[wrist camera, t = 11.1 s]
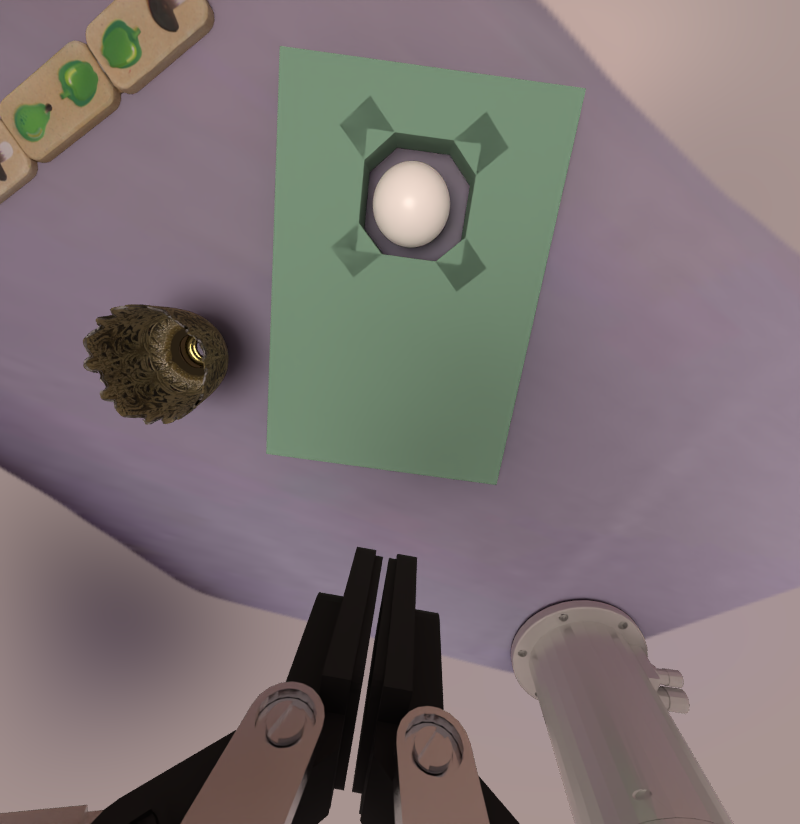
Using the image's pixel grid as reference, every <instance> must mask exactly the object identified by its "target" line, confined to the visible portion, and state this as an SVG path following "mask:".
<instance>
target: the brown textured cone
mask: <svg viewBox="0 0 800 824" xmlns="http://www.w3.org/2000/svg"><path fill="white" fill-rule="evenodd" d="M110 311H111V313H112V315H110V316H103V317H98V318H97V319H96V322H97V325H98V326H99V327H98V328H97V329H95V330H93V331H91V332H90V333H89V334H88V335H87V336H86V337H85V338H84V339H83V344H84V347H85V349H86V351H87V352H88V354H89V356H90V357H88V358H86V359H85V361H84V365H83V366H84V368H85V369H86V370H87V371H90V372H93V373H95V372H96V373H98V372H99V373H100V381H101V382H103V383H104V384H105V386H106V388H105V389H104V390H103V391H100V396H101V398H102V399H103V400H105V401H110V402H114V408H115V409H116V411H117V412H118V413H119V414H120V415H121V416H123V417H128V418H144V419H145V420H143V421H144V423H145V424H152V423H154V422H156V421H158V420H160V419H161V420H162V422H163V424H168V423H172V422H174V421H175V420H176V419H177V420H179V419H181V418H182V417H184V416H185V415H187V414H188V413H190V412H191V411H192V410H193V409H195V408H196V407H197V406H198V405H199V404H200V403H202V402H203V401H204V400H205V399H206V398H207V397H208V396H210V395H211V394H212V393H213V392H214V391H215V390H216V388H217V387H218V386H219V385H220V383H221V382H222V380H223V378H224V377H225V374H226V372H227V368H228V350H227V346H226V343H225V341H224V339H223V337H222V335H221V334H220V332H219V331H218V330H217V329H216V328H215V327H214V326H213V325H212V324H211V323H210V322H209V321H208V320H206V319H205V318H203V317H201V316H199V315H197V314H195V313H192V312H190V311H186V310H182V309H177V308H170V307H160V306H150V305H125V306H119V307H114V308H111V309H110ZM197 342H198V343H199V345H200V348H201V349H202V350H203V353H204V356H203V357H202V356H201V355H200V354H199V353H198V351H197V348H196V344H197ZM91 370H92V371H91ZM94 370H95V371H94ZM97 371H98V372H97Z"/></svg>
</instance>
